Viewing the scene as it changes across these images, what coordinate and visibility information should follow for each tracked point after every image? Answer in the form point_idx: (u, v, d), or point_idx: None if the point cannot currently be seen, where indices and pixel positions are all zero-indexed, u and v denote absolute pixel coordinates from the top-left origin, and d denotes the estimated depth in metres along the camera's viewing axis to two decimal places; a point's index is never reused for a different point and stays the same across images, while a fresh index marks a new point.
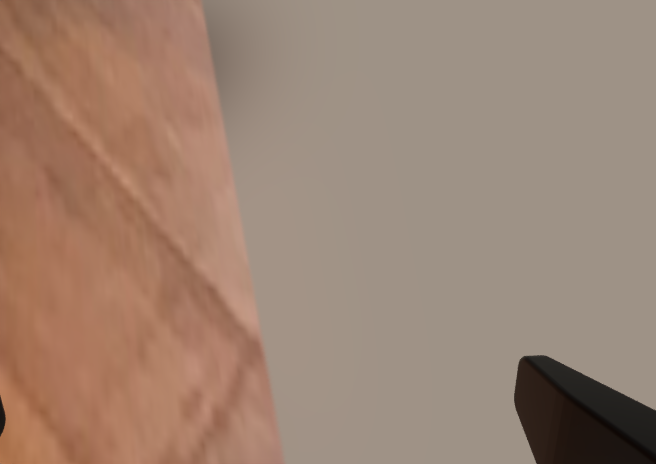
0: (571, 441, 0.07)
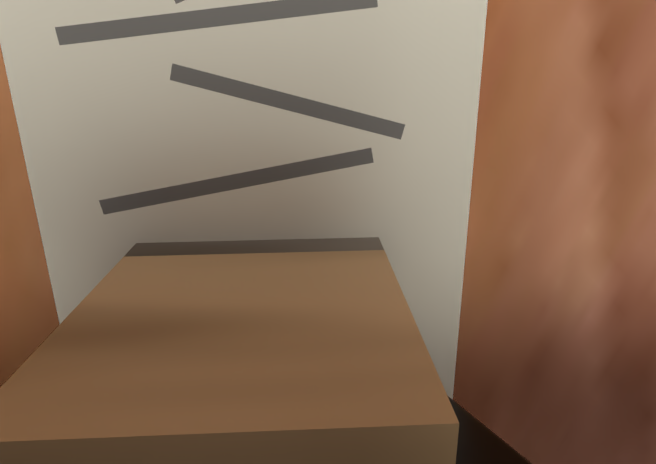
0: None
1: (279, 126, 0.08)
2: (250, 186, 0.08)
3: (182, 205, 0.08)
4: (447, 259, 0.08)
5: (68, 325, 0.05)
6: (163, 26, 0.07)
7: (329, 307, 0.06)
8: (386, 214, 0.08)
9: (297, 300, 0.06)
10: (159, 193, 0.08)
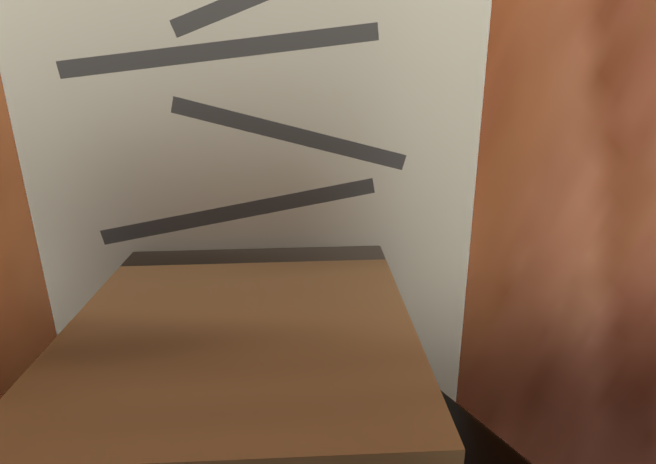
0: None
1: (280, 157, 0.08)
2: (251, 216, 0.08)
3: (184, 235, 0.08)
4: (448, 287, 0.08)
5: (61, 340, 0.05)
6: (164, 60, 0.07)
7: (330, 320, 0.06)
8: (387, 243, 0.08)
9: (297, 314, 0.06)
10: (160, 223, 0.08)
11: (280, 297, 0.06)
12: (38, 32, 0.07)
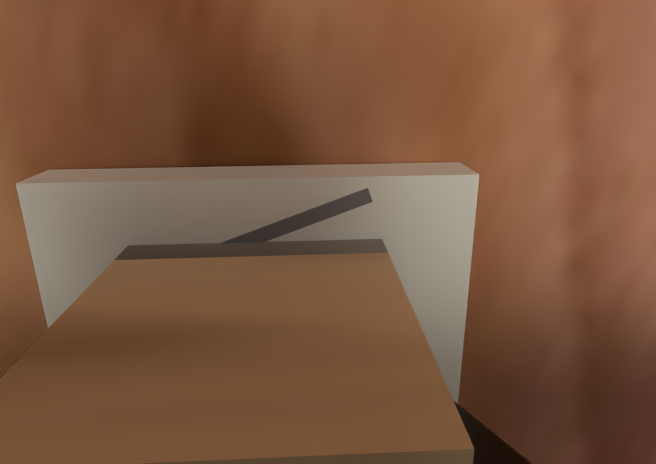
0: None
1: None
2: None
3: None
4: None
5: (51, 335, 0.05)
6: None
7: (331, 314, 0.05)
8: None
9: (296, 308, 0.06)
10: None
11: (279, 291, 0.06)
12: (74, 265, 0.08)
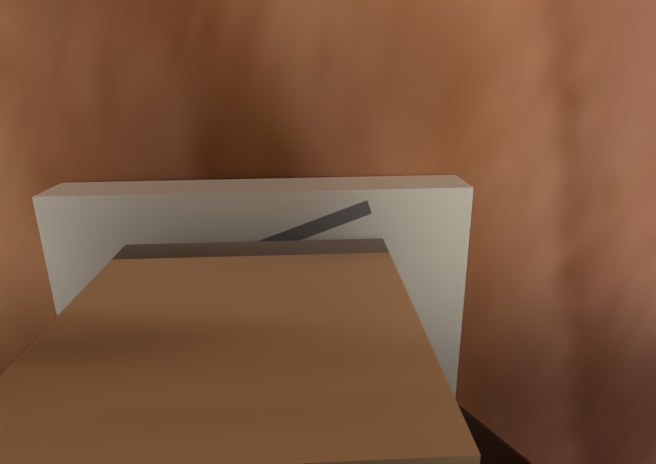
0: None
1: None
2: None
3: None
4: None
5: (47, 336, 0.05)
6: None
7: (332, 316, 0.05)
8: None
9: (297, 309, 0.06)
10: None
11: (279, 291, 0.06)
12: (86, 274, 0.08)
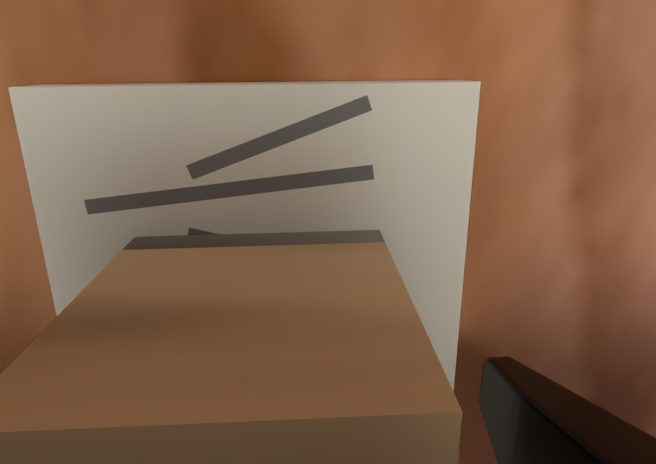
0: (527, 443, 0.07)
1: None
2: None
3: None
4: None
5: (65, 316, 0.05)
6: (181, 197, 0.08)
7: (331, 297, 0.06)
8: None
9: (297, 291, 0.06)
10: None
11: (281, 277, 0.06)
12: (68, 175, 0.08)
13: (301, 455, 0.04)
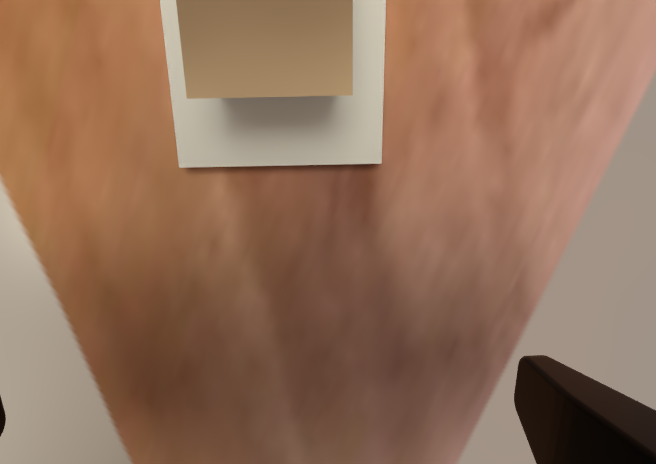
0: (571, 441, 0.07)
1: None
2: None
3: None
4: (375, 22, 0.16)
5: None
6: None
7: None
8: None
9: None
10: None
11: None
12: None
13: None
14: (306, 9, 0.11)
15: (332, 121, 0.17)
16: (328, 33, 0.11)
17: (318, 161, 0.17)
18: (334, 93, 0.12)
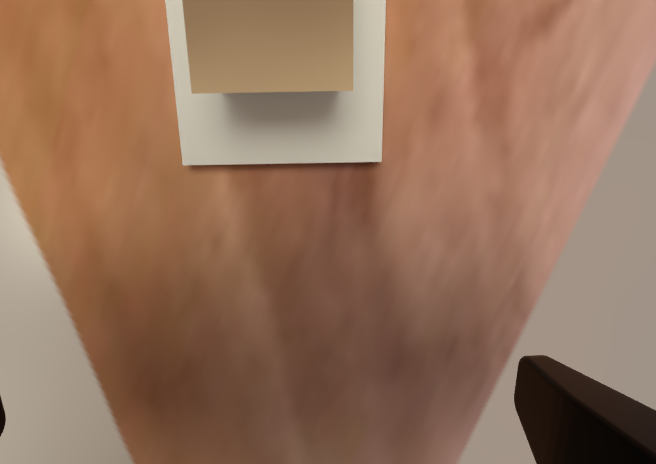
0: (571, 441, 0.07)
1: None
2: None
3: None
4: (375, 22, 0.16)
5: None
6: None
7: None
8: None
9: None
10: None
11: None
12: None
13: None
14: (308, 7, 0.12)
15: (333, 120, 0.17)
16: (329, 29, 0.12)
17: (319, 159, 0.17)
18: (335, 88, 0.12)
